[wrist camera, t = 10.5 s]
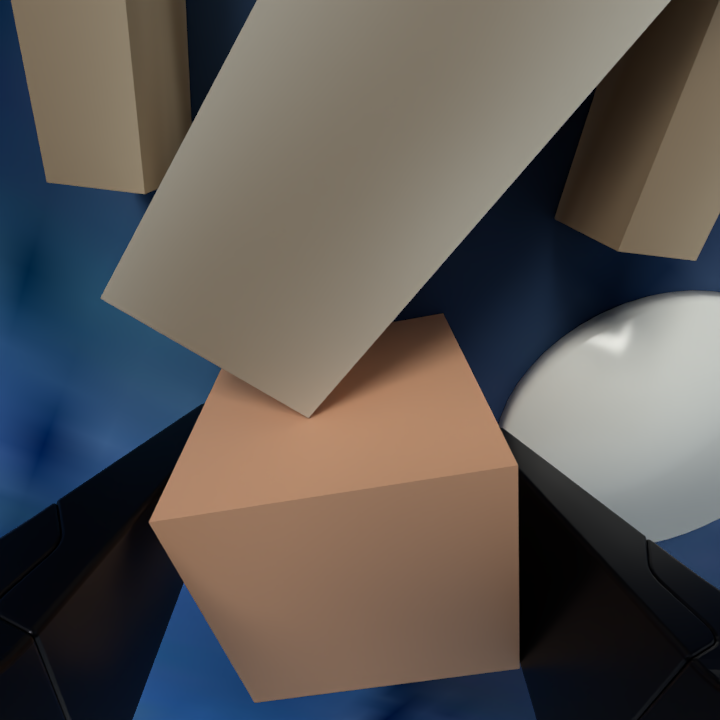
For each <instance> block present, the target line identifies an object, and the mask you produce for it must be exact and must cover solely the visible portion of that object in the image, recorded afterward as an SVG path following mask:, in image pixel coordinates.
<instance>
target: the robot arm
mask: <svg viewBox="0 0 720 720" xmlns="http://www.w3.org/2000/svg"><path fill="white" fill-rule="evenodd" d="M204 404H205V403H204ZM204 404H201V405H199V406H198V407H197V408H195V409H194V410H192V411H191V412H189V413H188V414H186V415H185V416H183V417H182V418H180V419H179V420H177V421H176V422H174V423H173V424H171V425H170V426H168V427H167V428H165V429H164V430H162V431H161V432H159V433H158V434H156V435H155V436H153V437H152V438H150V439H149V440H147V441H146V442H144V443H143V444H141V445H140V446H138V447H137V448H135V449H134V450H132V451H131V452H129V453H128V454H126V455H125V456H123V457H122V458H120V459H119V460H117V461H116V462H114V463H113V464H111V465H110V466H108V467H107V468H106V469H104V470H103V471H101V472H100V473H98V474H97V475H95V476H94V477H92V478H91V479H89V480H88V481H86V482H85V483H83V484H82V485H80V486H79V487H77V488H76V489H74V490H73V491H71V492H70V493H68V494H67V495H65V496H64V497H62V498H61V499H59V500H58V501H57V504H52V505H50V506H49V507H47V508H46V509H44V510H43V511H41V512H40V513H38V514H37V515H35V516H34V517H32V518H31V519H29V520H27V521H26V522H24V523H23V524H21V525H20V526H18V527H17V528H15V529H13V530H12V531H10V532H9V533H7V534H6V535H4V536H3V537H1V538H0V720H132V719H133V717H134V714H135V711H136V709H137V706H138V703H139V701H140V698H141V695H142V692H143V690H144V687H145V684H146V682H147V679H148V676H149V674H150V671H151V668H152V666H153V663H154V660H155V658H156V655H157V652H158V650H159V647H160V644H161V642H162V639H163V636H164V634H165V631H166V628H167V626H168V623H169V620H170V618H171V615H172V612H173V610H174V607H175V604H176V602H177V599H178V596H179V594H180V591H181V588H182V586H183V583H184V582H183V580H182V578H181V577H180V575H179V573H178V572H177V570H176V568H175V566H174V565H173V563H172V561H171V560H170V558H169V556H168V555H167V553H166V551H165V549H164V548H163V546H162V544H161V543H160V541H159V539H158V538H157V536H156V534H155V532H154V531H153V529H152V527H151V526H150V524H149V521H150V518H151V516H152V514H153V512H154V510H155V508H156V506H157V504H158V502H159V499H160V497H161V495H162V493H163V491H164V489H165V487H166V485H167V483H168V480H169V478H170V476H171V474H172V472H173V470H174V468H175V466H176V464H177V461H178V459H179V457H180V455H181V453H182V451H183V449H184V447H185V445H186V442H187V440H188V438H189V436H190V434H191V432H192V430H193V428H194V426H195V423H196V421H197V419H198V417H199V415H200V413H201V411H202V409H203V407H204ZM499 428H500V430H501V432H502V434H503V436H504V438H505V440H506V442H507V444H508V446H509V448H510V450H511V452H512V454H513V456H514V458H515V460H516V462H517V464H518V518H519V660H520V663H521V667H522V670H523V674H524V677H525V681H526V684H527V688H528V691H529V694H530V698H531V701H532V705H533V708H534V712H535V715H536V719H537V720H720V590H718V589H717V588H716V587H714V586H713V585H711V584H710V583H708V582H707V581H705V580H704V579H703V578H701V577H700V576H698V575H697V574H696V573H694V572H693V571H691V570H690V569H689V568H687V567H686V566H685V565H683V564H682V563H681V562H679V561H678V560H677V559H675V558H674V557H672V556H671V555H670V554H668V553H667V552H666V551H665V550H663V549H662V548H661V547H659V546H658V545H657V544H655V543H654V542H653V541H651V540H650V539H647V540H646V536H645V535H643V534H642V533H641V532H639V531H638V530H637V529H635V528H634V527H633V526H632V525H630V524H629V523H628V522H626V521H625V520H624V519H622V518H621V517H620V516H618V515H617V514H616V513H614V512H613V511H612V510H610V509H609V508H608V507H606V506H605V505H604V504H603V503H601V502H600V501H599V500H597V499H596V498H595V497H593V496H592V495H591V494H589V493H588V492H587V491H585V490H584V489H583V488H581V487H580V486H579V485H578V484H576V483H575V482H574V481H572V480H571V479H570V478H568V477H567V476H566V475H564V474H563V473H562V472H560V471H559V470H558V469H556V468H555V467H554V466H552V465H551V464H550V463H549V462H547V461H546V460H545V459H543V458H542V457H541V456H539V455H538V454H537V453H535V452H534V451H533V450H531V449H530V448H529V447H527V446H526V445H525V444H523V443H522V442H521V441H520V440H518V439H517V438H516V437H514V436H513V435H512V434H510V433H509V432H508V431H506V430H505V429H504V428H501V427H499Z"/></svg>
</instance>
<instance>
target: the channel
mask: <svg viewBox="0 0 720 720" xmlns="http://www.w3.org/2000/svg"><path fill="white" fill-rule="evenodd" d="M11 3H12V8H13V13H14V18H15V23H16V28H17V33H18V38H19V43H20V49H21V54H22V59H23V64H24V69H25V74H26V79H27V84H28V89H29V94H30V99H31V104H32V109H33V114H34V119H35V124H36V130H37V135H38V140H39V145H40V150H41V155H42V160H43V165H44V170H45V175H46V180H47V182H49V183H57V184H65V185H74V186H82V187H90V188H98V189H107V190H115V191H123V192H131V193H140V194H146V193H149V192H151V191H153V190H156V189H158V188H159V186H160V184H161V182H162V180H163V178H164V176H165V174H166V172H167V171H168V169H169V167H170V165H171V163H172V161H173V159H174V157H175V155H176V153H177V152H178V150H179V148H180V146H181V144H182V142H183V140H184V138H185V136H186V134H187V133H188V131H189V129H190V127H191V125H192V121H191V101H190V80H189V60H188V40H187V20H186V0H11ZM719 213H720V0H671V1H670V2H669V3H668V4H667V5H666V7H665V8H664V9H663V10H662V11H661V12H660V14H659V15H658V16H657V17H656V18H655V19H654V20H653V22H652V23H651V24H650V25H649V26H648V27H647V29H646V30H645V31H644V32H643V33H642V34H641V35H640V37H639V38H638V39H637V40H636V41H635V42H634V44H633V45H632V46H631V47H630V48H629V49H628V50H627V52H626V53H625V54H624V55H623V56H622V57H621V59H620V60H619V61H618V62H617V63H616V64H615V65H614V67H613V68H612V69H611V70H610V71H609V72H608V73H607V75H606V76H605V77H604V78H603V79H602V80H601V82H600V83H599V84H598V85H597V88H596V91H595V94H594V97H593V100H592V104H591V107H590V110H589V113H588V116H587V119H586V122H585V125H584V128H583V131H582V134H581V137H580V141H579V144H578V147H577V150H576V153H575V156H574V159H573V162H572V165H571V168H570V171H569V175H568V178H567V181H566V184H565V187H564V190H563V193H562V196H561V199H560V202H559V205H558V208H557V212H556V215H555V218H554V219H555V220H557V221H559V222H561V223H563V224H565V225H567V226H569V227H571V228H573V229H575V230H577V231H579V232H581V233H583V234H585V235H587V236H589V237H591V238H593V239H595V240H596V241H598V242H600V243H602V244H604V245H606V246H608V247H610V248H612V249H614V250H616V251H619V252H627V253H635V254H644V255H652V256H660V257H668V258H677V259H685V260H693V261H696V260H697V258H698V256H699V254H700V251H701V249H702V247H703V245H704V243H705V241H706V239H707V237H708V235H709V233H710V231H711V229H712V227H713V225H714V223H715V221H716V219H717V217H718V215H719Z"/></svg>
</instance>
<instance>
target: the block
mask: <svg viewBox="0 0 720 720" xmlns="http://www.w3.org/2000/svg"><path fill="white" fill-rule="evenodd" d="M149 524H150V526H151V527H152V529H153V531H154V532H155V534H156V536H157V538H158V539H159V541H160V543H161V544H162V546H163V548H164V549H165V551H166V553H167V555H168V556H169V558H170V560H171V561H172V563H173V565H174V566H175V568H176V570H177V572H178V573H179V575H180V577H181V578H182V580H183V582H184V583H185V585H186V587H187V589H188V590H189V592H190V594H191V595H192V597H193V599H194V600H195V602H196V604H197V606H198V607H199V609H200V611H201V612H202V614H203V616H204V617H205V619H206V621H207V623H208V624H209V626H210V628H211V629H212V631H213V633H214V634H215V636H216V638H217V640H218V641H219V643H220V645H221V646H222V648H223V650H224V651H225V653H226V655H227V657H228V658H229V660H230V662H231V663H232V665H233V667H234V668H235V670H236V672H237V674H238V675H239V677H240V679H241V680H242V682H243V684H244V685H245V687H246V689H247V691H248V692H249V694H250V696H251V697H252V699H253V701H254V702H255V703H257V702H265V701H272V700H280V699H288V698H296V697H303V696H311V695H319V694H327V693H334V692H342V691H350V690H358V689H365V688H373V687H381V686H389V685H396V684H404V683H412V682H420V681H427V680H435V679H443V678H451V677H458V676H466V675H474V674H482V673H489V672H497V671H505V670H513V669H520V664H519V518H518V464H517V462H516V460H515V458H514V456H513V454H512V452H511V450H510V448H509V446H508V444H507V442H506V440H505V438H504V436H503V434H502V432H501V430H500V428H499V425H498V423H497V421H496V419H495V417H494V415H493V413H492V411H491V409H490V407H489V405H488V403H487V401H486V399H485V397H484V395H483V393H482V391H481V389H480V387H479V385H478V383H477V381H476V379H475V377H474V375H473V373H472V371H471V369H470V367H469V365H468V363H467V361H466V359H465V357H464V355H463V353H462V351H461V349H460V347H459V344H458V342H457V340H456V338H455V336H454V334H453V332H452V330H451V328H450V326H449V324H448V322H447V320H446V318H445V316H444V314H443V313H442V314H436V315H431V316H425V317H419V318H414V319H408V320H402V321H397V322H391V324H390V325H389V326H388V327H387V328H386V329H385V331H384V332H383V333H382V334H381V335H380V336H379V337H378V339H377V340H376V341H375V342H374V343H373V344H372V346H371V347H370V348H369V349H368V350H367V351H366V352H365V354H364V355H363V356H362V357H361V358H360V359H359V360H358V362H357V363H356V364H355V365H354V366H353V367H352V369H351V370H350V371H349V372H348V373H347V374H346V375H345V377H344V378H343V379H342V380H341V381H340V382H339V384H338V385H337V386H336V387H335V388H334V389H333V390H332V392H331V393H330V394H329V395H328V396H327V397H326V399H325V400H324V401H323V402H322V403H321V404H320V405H319V407H318V408H317V409H316V410H315V411H314V412H313V414H312V415H311V416H310V417H309V418H307V417H306V416H304V415H302V414H300V413H299V412H297V411H295V410H293V409H292V408H290V407H288V406H286V405H285V404H283V403H281V402H280V401H278V400H276V399H274V398H273V397H271V396H269V395H267V394H266V393H264V392H262V391H260V390H259V389H257V388H255V387H253V386H252V385H250V384H248V383H247V382H245V381H243V380H241V379H240V378H238V377H236V376H234V375H233V374H231V373H229V372H227V371H226V370H224V369H222V368H221V371H220V373H219V375H218V377H217V379H216V381H215V383H214V385H213V387H212V390H211V392H210V394H209V396H208V398H207V400H206V402H205V404H204V407H203V409H202V411H201V413H200V415H199V417H198V419H197V421H196V423H195V426H194V428H193V430H192V432H191V434H190V436H189V438H188V440H187V442H186V445H185V447H184V449H183V451H182V453H181V455H180V457H179V459H178V461H177V464H176V466H175V468H174V470H173V472H172V474H171V476H170V478H169V480H168V483H167V485H166V487H165V489H164V491H163V493H162V495H161V497H160V499H159V502H158V504H157V506H156V508H155V510H154V512H153V514H152V516H151V518H150V521H149Z"/></svg>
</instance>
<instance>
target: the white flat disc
mask: <svg viewBox="0 0 720 720" xmlns="http://www.w3.org/2000/svg"><path fill="white" fill-rule="evenodd" d="M499 427H501V428H504V429H505V430H506V431H508V432H509V433H510V434H512V435H513V436H514V437H516V438H517V439H518V440H520V441H521V442H522V443H523V444H525V445H526V446H527V447H529V448H530V449H531V450H533V451H534V452H535V453H537V454H538V455H539V456H541V457H542V458H543V459H545V460H546V461H547V462H549V463H550V464H551V465H552V466H554V467H555V468H556V469H558V470H559V471H560V472H562V473H563V474H564V475H566V476H567V477H568V478H570V479H571V480H572V481H574V482H575V483H576V484H578V485H579V486H580V487H581V488H583V489H584V490H585V491H587V492H588V493H589V494H591V495H592V496H593V497H595V498H596V499H597V500H599V501H600V502H601V503H603V504H604V505H605V506H606V507H608V508H609V509H610V510H612V511H613V512H614V513H616V514H617V515H618V516H620V517H621V518H622V519H624V520H625V521H626V522H628V523H629V524H630V525H632V526H633V527H634V528H635V529H637V530H638V531H639V532H641V533H642V534H643V535H645V536H646V540H647V539H650V540H651V541H653V542H658V541H662V540H666V539H670V538H673V537H676V536H679V535H682V534H685V533H688V532H690V531H693V530H695V529H698V528H700V527H702V526H705V525H707V524H709V523H711V522H713V521H715V520H717V519H719V518H720V292H715V291H696V290H690V291H678V292H668V293H663V294H658V295H653V296H648V297H644V298H641V299H638V300H634V301H631V302H628V303H625V304H622V305H620V306H617V307H615V308H613V309H610V310H608V311H606V312H603V313H601V314H599V315H597V316H596V317H594V318H592V319H590V320H588V321H587V322H585V323H583V324H581V325H580V326H578V327H577V328H575V329H574V330H572V331H571V332H569V333H568V334H566V335H565V336H564V337H562V338H561V339H560V340H558V341H557V342H556V343H555V344H554V345H552V346H551V347H550V348H549V349H548V350H547V351H545V352H544V353H543V354H542V355H541V356H540V357H539V358H538V359H537V361H536V362H535V363H534V364H533V365H532V366H531V367H530V368H529V369H528V370H527V372H526V373H525V374H524V376H523V377H522V378H521V380H520V381H519V382H518V384H517V385H516V387H515V388H514V390H513V392H512V394H511V395H510V397H509V399H508V400H507V403H506V405H505V408H504V410H503V412H502V415H501V417H500V421H499Z"/></svg>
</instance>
